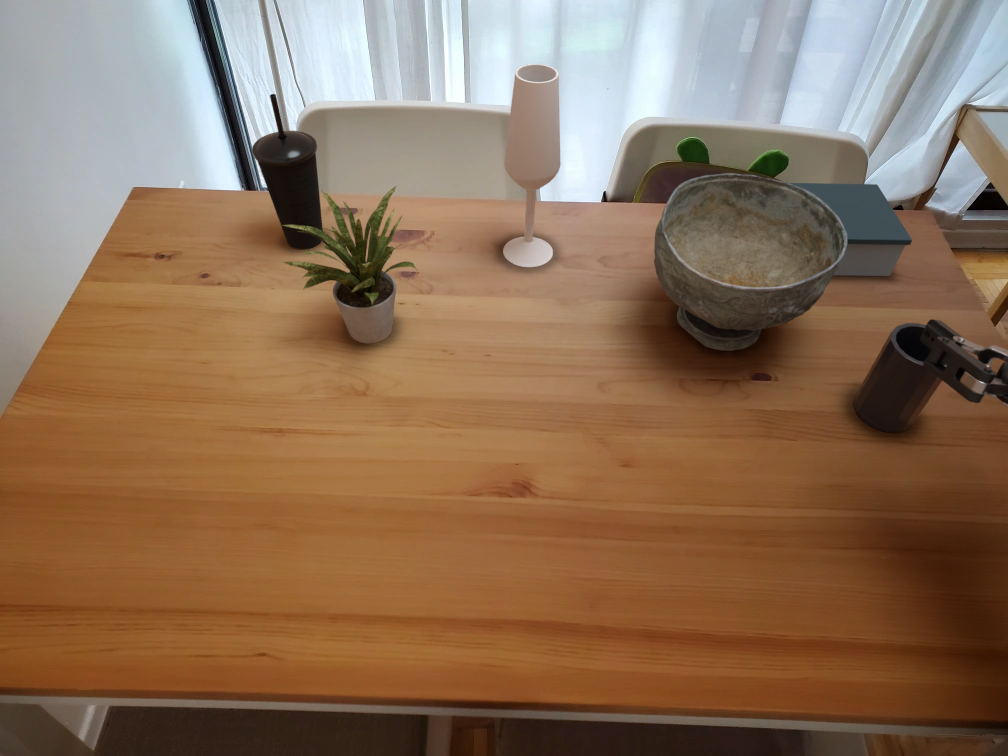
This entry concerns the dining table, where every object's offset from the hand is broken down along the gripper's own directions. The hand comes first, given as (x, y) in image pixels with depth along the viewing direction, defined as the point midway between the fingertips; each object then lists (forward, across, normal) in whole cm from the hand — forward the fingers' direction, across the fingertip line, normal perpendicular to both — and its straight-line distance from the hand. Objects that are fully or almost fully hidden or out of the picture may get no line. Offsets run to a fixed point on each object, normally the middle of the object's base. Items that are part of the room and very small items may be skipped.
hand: (972, 336), depth 62 cm
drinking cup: (+42, +63, +16) cm, 77 cm away
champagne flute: (+38, +34, +12) cm, 52 cm away
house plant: (+26, +52, +19) cm, 61 cm away
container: (+38, -7, +4) cm, 38 cm away
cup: (+10, -4, +14) cm, 17 cm away
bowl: (+23, +11, +12) cm, 29 cm away
